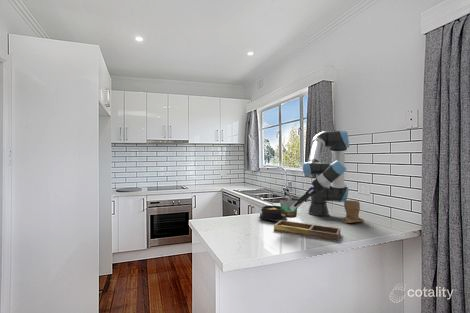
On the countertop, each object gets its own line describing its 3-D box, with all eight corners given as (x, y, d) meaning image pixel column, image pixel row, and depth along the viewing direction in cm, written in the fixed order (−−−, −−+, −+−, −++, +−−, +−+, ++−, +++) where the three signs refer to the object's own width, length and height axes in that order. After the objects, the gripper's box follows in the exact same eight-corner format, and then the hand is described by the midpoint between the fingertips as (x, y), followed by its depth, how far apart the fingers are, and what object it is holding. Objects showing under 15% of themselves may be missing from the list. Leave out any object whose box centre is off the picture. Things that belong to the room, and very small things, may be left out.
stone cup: (352, 218, 183) (352, 198, 183) (366, 222, 172) (367, 200, 172) (336, 220, 177) (336, 199, 177) (350, 225, 166) (350, 202, 166)
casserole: (294, 222, 170) (294, 210, 170) (269, 225, 163) (269, 212, 163) (276, 214, 193) (276, 203, 193) (253, 216, 187) (253, 204, 187)
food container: (284, 218, 145) (284, 201, 145) (279, 216, 151) (279, 199, 151) (302, 217, 149) (303, 200, 149) (297, 215, 155) (297, 199, 155)
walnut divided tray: (280, 225, 162) (280, 220, 162) (340, 234, 145) (340, 228, 145) (273, 230, 151) (273, 224, 151) (337, 241, 134) (337, 234, 134)
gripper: (322, 190, 132) (292, 216, 140) (328, 186, 152) (301, 209, 159) (312, 179, 135) (283, 206, 143) (319, 176, 154) (293, 200, 162)
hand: (293, 207), depth 151 cm, fingers closed on food container, 9 cm apart
